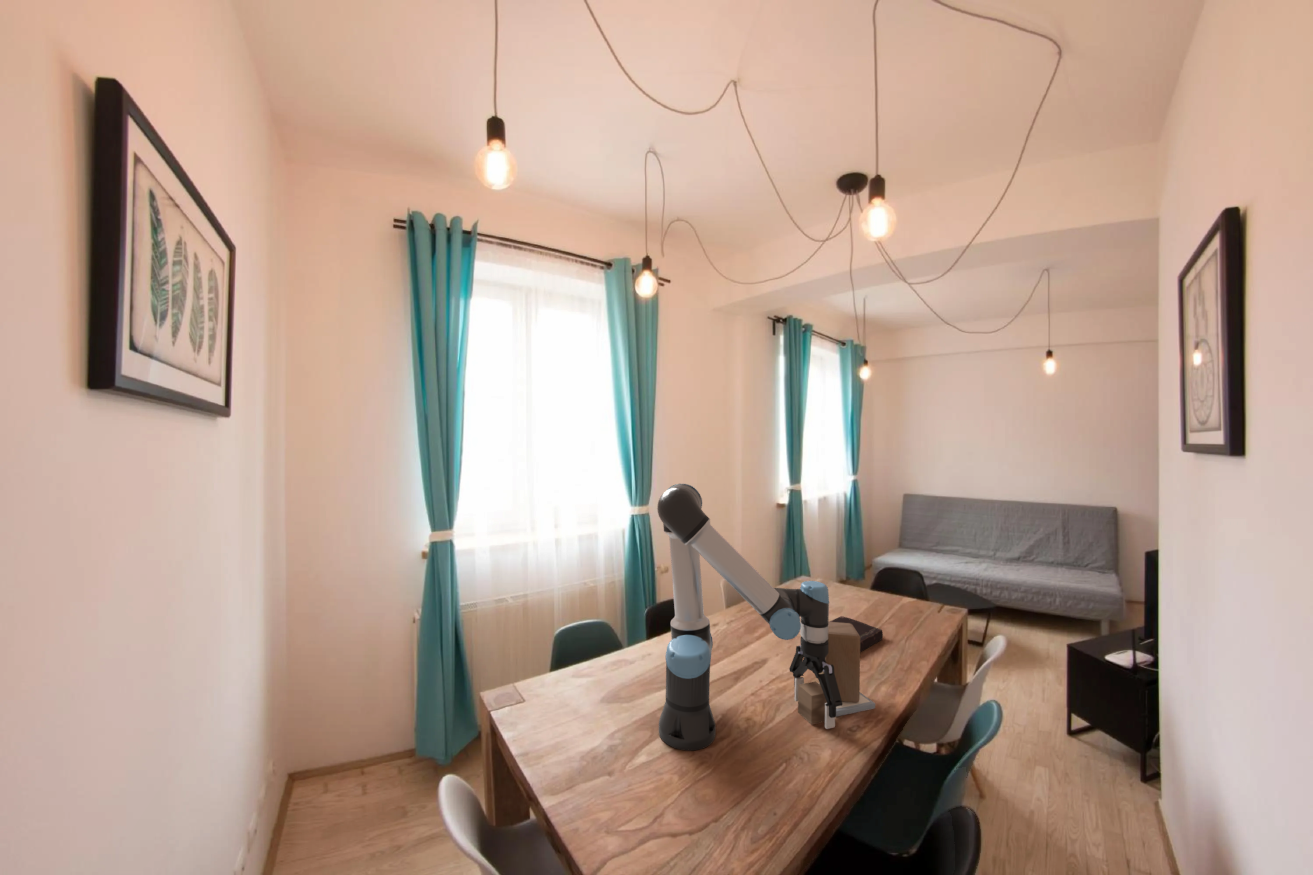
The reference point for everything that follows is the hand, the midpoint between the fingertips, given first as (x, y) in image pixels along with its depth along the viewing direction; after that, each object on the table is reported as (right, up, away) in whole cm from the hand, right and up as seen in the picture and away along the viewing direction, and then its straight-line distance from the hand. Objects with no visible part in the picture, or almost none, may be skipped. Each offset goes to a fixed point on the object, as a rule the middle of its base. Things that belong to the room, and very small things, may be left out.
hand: (813, 712), depth 131 cm
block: (+11, 0, +9) cm, 14 cm away
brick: (0, -1, 0) cm, 1 cm away
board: (+11, -1, +9) cm, 14 cm away
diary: (+29, -2, +50) cm, 58 cm away
